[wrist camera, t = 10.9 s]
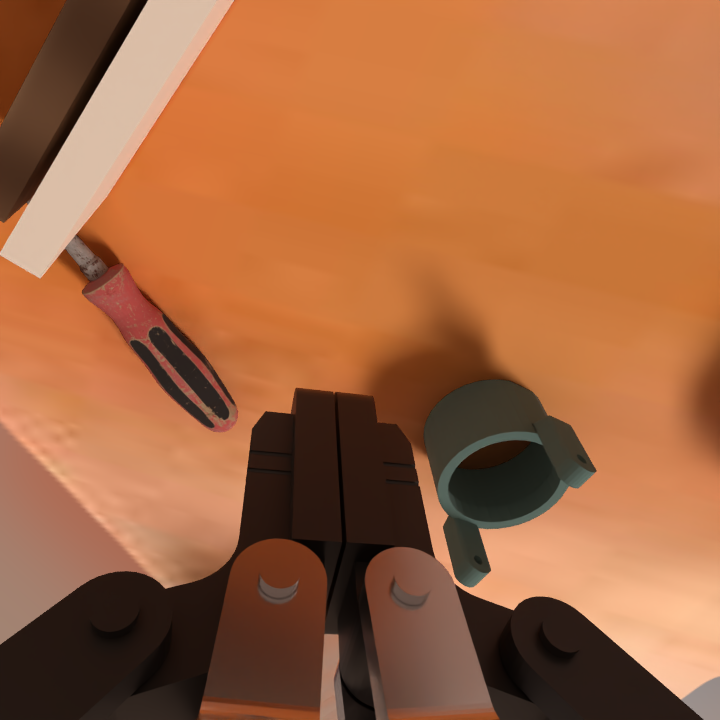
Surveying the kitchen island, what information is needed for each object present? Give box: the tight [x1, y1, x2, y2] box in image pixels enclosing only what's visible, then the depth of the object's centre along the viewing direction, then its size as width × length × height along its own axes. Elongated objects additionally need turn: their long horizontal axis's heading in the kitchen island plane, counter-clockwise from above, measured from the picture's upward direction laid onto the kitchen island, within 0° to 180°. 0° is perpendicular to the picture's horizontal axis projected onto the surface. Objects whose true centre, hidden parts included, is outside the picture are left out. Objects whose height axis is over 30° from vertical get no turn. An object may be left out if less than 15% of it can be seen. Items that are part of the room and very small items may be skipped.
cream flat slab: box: [0, 0, 234, 278], centre depth 22 cm, size 19×3×9 cm, turn 139°
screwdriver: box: [27, 197, 238, 432], centre depth 30 cm, size 25×3×3 cm, turn 27°
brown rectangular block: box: [0, 0, 148, 223], centre depth 22 cm, size 19×4×8 cm, turn 139°
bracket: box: [424, 380, 596, 587], centre depth 37 cm, size 9×9×9 cm
